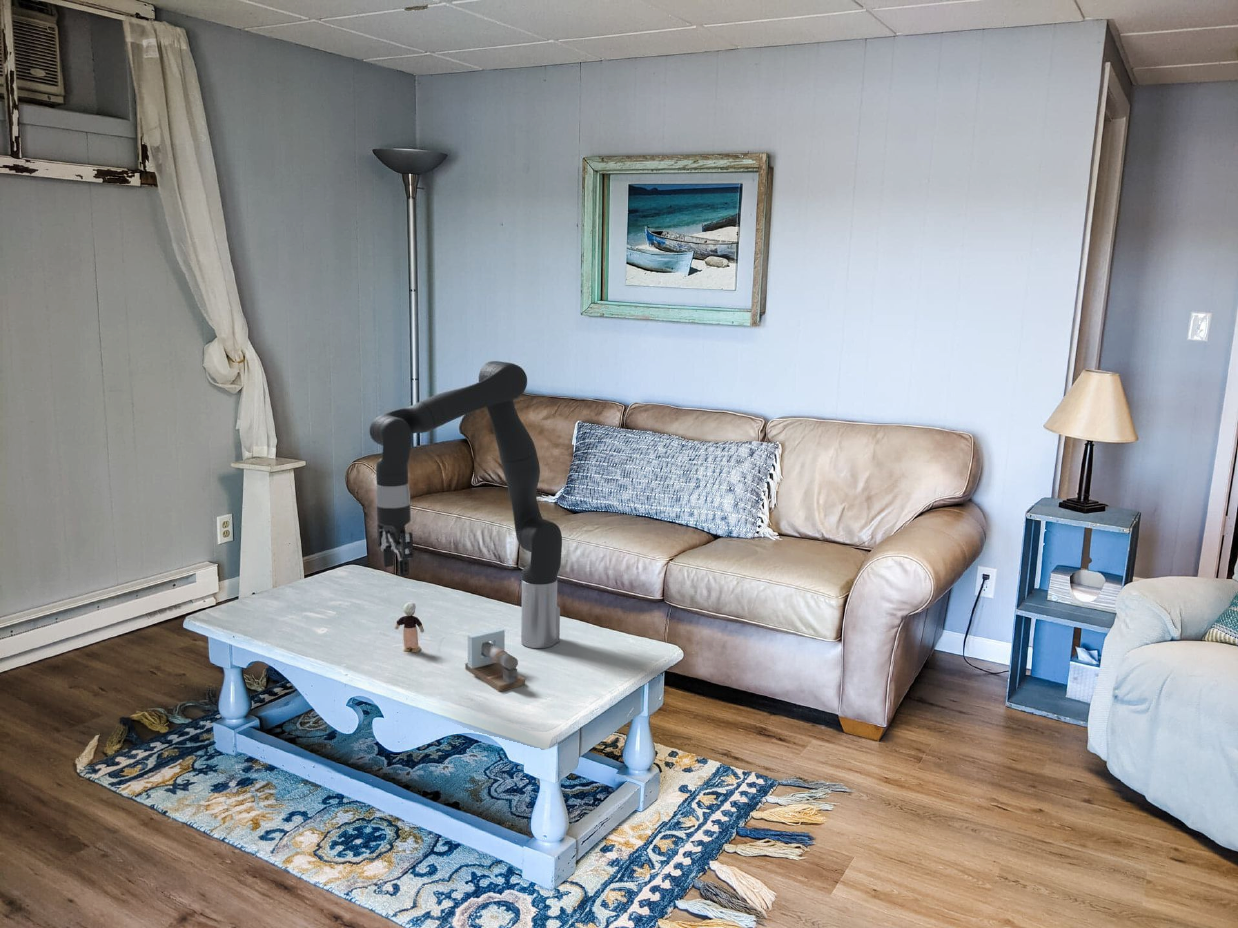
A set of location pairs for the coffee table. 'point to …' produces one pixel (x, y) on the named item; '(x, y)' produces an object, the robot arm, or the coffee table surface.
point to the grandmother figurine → (410, 628)
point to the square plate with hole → (475, 646)
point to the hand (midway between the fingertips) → (396, 570)
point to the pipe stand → (498, 669)
